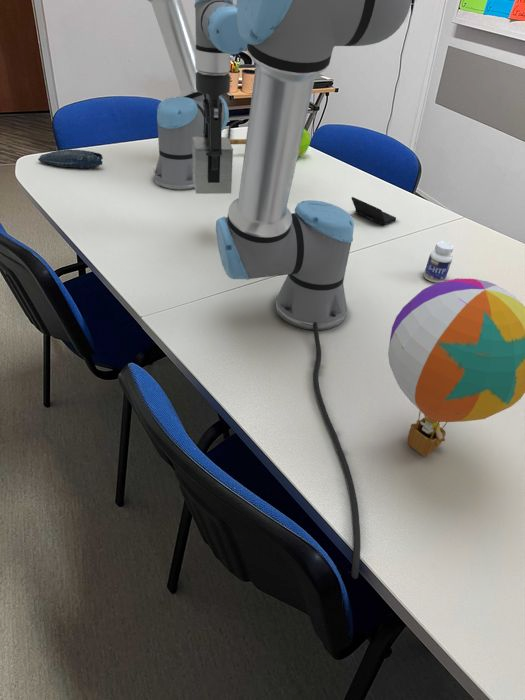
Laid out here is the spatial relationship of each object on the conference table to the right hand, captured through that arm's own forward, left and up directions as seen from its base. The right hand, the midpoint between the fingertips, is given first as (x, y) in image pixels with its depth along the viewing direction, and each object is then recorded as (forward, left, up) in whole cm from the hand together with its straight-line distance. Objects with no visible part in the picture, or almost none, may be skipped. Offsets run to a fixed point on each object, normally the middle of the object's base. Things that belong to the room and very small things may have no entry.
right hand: (211, 174), depth 127 cm
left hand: (+35, -16, +11) cm, 40 cm away
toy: (-63, -50, -16) cm, 82 cm away
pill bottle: (-6, -58, -16) cm, 60 cm away
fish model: (+35, +54, -16) cm, 66 cm away
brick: (0, 0, -3) cm, 3 cm away
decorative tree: (+68, -6, -16) cm, 70 cm away
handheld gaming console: (+25, -43, -16) cm, 52 cm away
